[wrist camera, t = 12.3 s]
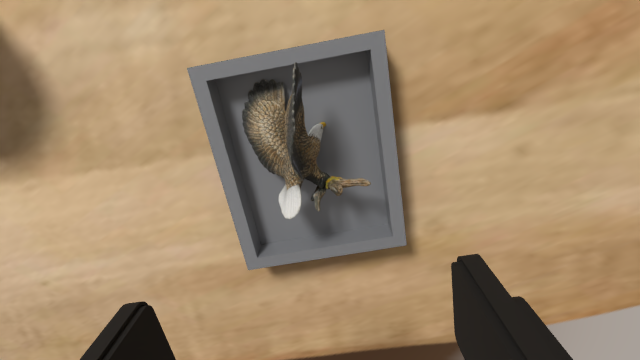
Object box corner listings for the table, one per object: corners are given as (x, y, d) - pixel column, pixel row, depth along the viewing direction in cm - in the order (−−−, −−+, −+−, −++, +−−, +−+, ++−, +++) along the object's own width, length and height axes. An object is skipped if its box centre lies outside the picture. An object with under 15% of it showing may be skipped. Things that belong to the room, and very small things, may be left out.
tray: (376, 32, 24) (384, 29, 22) (398, 227, 30) (406, 245, 27) (201, 66, 25) (187, 68, 22) (254, 250, 31) (248, 270, 28)
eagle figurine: (386, 146, 25) (317, 39, 21) (358, 221, 21) (264, 105, 17) (310, 167, 30) (242, 84, 26) (275, 232, 26) (186, 144, 21)
